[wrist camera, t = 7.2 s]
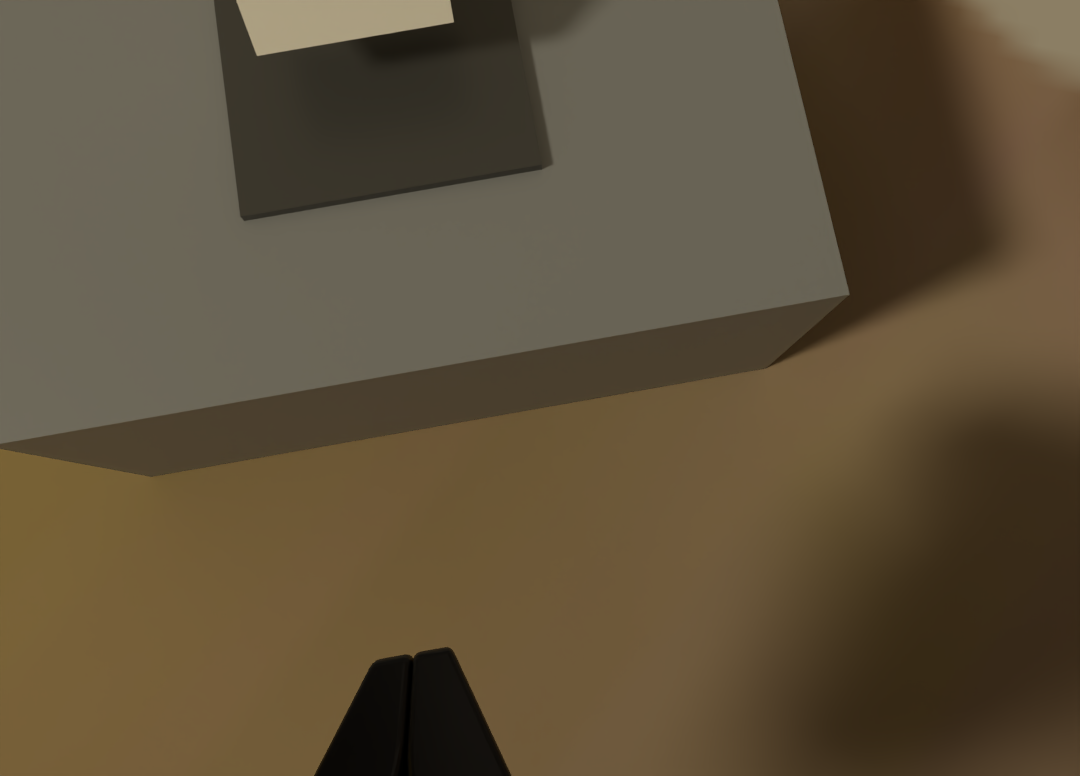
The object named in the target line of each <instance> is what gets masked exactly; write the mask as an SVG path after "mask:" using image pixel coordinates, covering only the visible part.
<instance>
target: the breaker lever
mask: <svg viewBox="0 0 1080 776" xmlns="http://www.w3.org/2000/svg"><path fill="white" fill-rule="evenodd" d="M236 1H237V4H238V7H239V9H240V12H241V15H242V17H243V20H244V23H245V25H246V28H247V31H248V33H249V36H250V39H251V41H252V44H253V47H254V49H255V52H256V55H257V56H260V55H266V54H272V53H278V52H283V51H289V50H295V49H301V48H307V47H313V46H319V45H324V44H330V43H336V42H342V41H348V40H354V39H359V38H365V37H371V36H377V35H383V34H389V33H395V32H400V31H406V30H412V29H418V28H424V27H430V26H435V25H441V24H447V23H453V22H454V19H453V13H452V7H451V1H450V0H236Z"/></svg>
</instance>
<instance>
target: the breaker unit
mask: <svg viewBox="0 0 1080 776" xmlns="http://www.w3.org/2000/svg"><path fill="white" fill-rule="evenodd" d="M450 1H451V7H452V13H453V19H454V22H453V23H447V24H441V25H435V26H430V27H424V28H418V29H412V30H406V31H400V32H395V33H389V34H383V35H377V36H371V37H365V38H359V39H354V40H348V41H342V42H336V43H330V44H324V45H319V46H313V47H307V48H301V49H295V50H289V51H283V52H278V53H272V54H266V55H260V56H257V55H256V52H255V49H254V47H253V44H252V41H251V39H250V36H249V33H248V31H247V28H246V25H245V23H244V20H243V17H242V15H241V12H240V9H239V7H238V4H237V1H236V0H0V449H4V450H10V451H15V452H21V453H26V454H31V455H37V456H42V457H48V458H53V459H58V460H64V461H69V462H75V463H80V464H85V465H91V466H96V467H102V468H107V469H112V470H118V471H123V472H129V473H134V474H139V475H145V476H150V477H152V476H158V475H164V474H169V473H175V472H181V471H186V470H192V469H198V468H203V467H209V466H215V465H220V464H226V463H232V462H237V461H243V460H249V459H254V458H260V457H266V456H271V455H277V454H283V453H288V452H294V451H300V450H305V449H311V448H317V447H322V446H328V445H334V444H339V443H345V442H351V441H356V440H362V439H368V438H373V437H379V436H385V435H390V434H396V433H402V432H407V431H413V430H419V429H424V428H430V427H436V426H441V425H447V424H453V423H458V422H464V421H470V420H475V419H481V418H487V417H492V416H498V415H504V414H509V413H515V412H521V411H526V410H532V409H538V408H543V407H549V406H555V405H560V404H566V403H572V402H577V401H583V400H589V399H594V398H600V397H606V396H611V395H617V394H623V393H628V392H634V391H640V390H645V389H651V388H657V387H662V386H668V385H674V384H679V383H685V382H691V381H696V380H702V379H708V378H713V377H719V376H725V375H730V374H736V373H742V372H747V371H753V370H759V369H764V368H767V367H768V366H769V365H770V364H771V363H773V362H774V361H775V360H776V359H777V358H778V357H779V356H781V355H782V354H783V353H784V352H785V351H786V350H787V349H788V348H790V347H791V346H792V345H793V344H794V343H795V342H796V341H798V340H799V339H800V338H801V337H802V336H803V335H804V334H805V333H807V332H808V331H809V330H810V329H811V328H812V327H813V326H815V325H816V324H817V323H818V322H819V321H820V320H821V319H823V318H824V317H825V316H826V315H827V314H828V313H829V312H830V311H832V310H833V309H834V308H835V307H836V306H837V305H838V304H840V303H841V302H842V301H843V300H844V299H845V298H846V297H847V296H849V295H850V294H849V290H848V286H847V282H846V278H845V273H844V269H843V265H842V261H841V257H840V253H839V249H838V245H837V241H836V237H835V233H834V228H833V224H832V220H831V216H830V212H829V208H828V204H827V200H826V196H825V192H824V188H823V184H822V179H821V175H820V171H819V167H818V163H817V159H816V155H815V151H814V147H813V143H812V139H811V134H810V130H809V126H808V122H807V118H806V114H805V110H804V106H803V102H802V98H801V94H800V89H799V85H798V81H797V77H796V73H795V69H794V65H793V61H792V57H791V53H790V49H789V45H788V40H787V36H786V32H785V28H784V24H783V20H782V16H781V12H780V8H779V4H778V0H450Z"/></svg>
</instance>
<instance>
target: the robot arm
mask: <svg viewBox="0 0 1080 776" xmlns="http://www.w3.org/2000/svg"><path fill="white" fill-rule="evenodd" d="M314 776H511V774H510V772H509V769H508V767H507V765H506V763H505V761H504V759H503V757H502V754H501V752H500V750H499V748H498V746H497V744H496V742H495V739H494V737H493V735H492V733H491V731H490V729H489V726H488V724H487V722H486V720H485V718H484V716H483V714H482V711H481V709H480V707H479V705H478V703H477V701H476V698H475V696H474V694H473V692H472V690H471V688H470V686H469V683H468V681H467V679H466V677H465V675H464V673H463V671H462V668H461V666H460V664H459V662H458V660H457V658H456V656H455V654H454V652H453V650H452V649H451V648H448V647H444V648H439V649H433V650H428V651H422V652H419V653H417V654H416V655H415V656H414V658H413V657H412V656H410V655H400V656H394V657H389V658H383V659H379V660H376V661H375V662H374V663H373V664H372V665H371V667H370V668H369V670H368V672H367V674H366V676H365V678H364V680H363V682H362V684H361V686H360V688H359V690H358V692H357V693H356V695H355V697H354V699H353V701H352V703H351V705H350V707H349V709H348V711H347V713H346V715H345V717H344V719H343V721H342V723H341V725H340V726H339V728H338V730H337V732H336V734H335V736H334V738H333V740H332V742H331V744H330V746H329V748H328V750H327V752H326V754H325V756H324V758H323V759H322V761H321V763H320V765H319V767H318V769H317V771H316V773H315V775H314Z"/></svg>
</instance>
